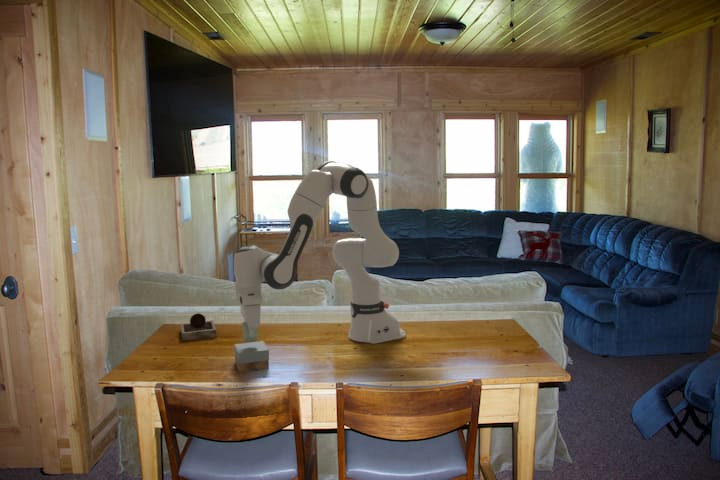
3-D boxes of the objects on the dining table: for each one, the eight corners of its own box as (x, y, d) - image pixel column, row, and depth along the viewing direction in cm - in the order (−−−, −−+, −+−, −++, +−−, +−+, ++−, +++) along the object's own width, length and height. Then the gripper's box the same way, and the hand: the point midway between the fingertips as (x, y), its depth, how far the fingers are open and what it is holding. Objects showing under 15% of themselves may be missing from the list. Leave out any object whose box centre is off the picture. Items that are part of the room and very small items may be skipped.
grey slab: (263, 350, 204) (263, 340, 203) (269, 359, 194) (268, 349, 194) (235, 354, 200) (234, 344, 200) (239, 363, 191) (238, 353, 191)
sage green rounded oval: (256, 336, 200) (255, 320, 199) (259, 341, 195) (258, 324, 194) (242, 338, 198) (241, 321, 197) (244, 343, 193) (243, 325, 193)
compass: (193, 336, 230) (192, 319, 228) (190, 331, 237) (189, 313, 236) (213, 333, 233) (212, 316, 232) (210, 328, 240) (209, 311, 239)
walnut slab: (264, 359, 204) (263, 350, 204) (268, 369, 195) (268, 360, 194) (235, 363, 201) (234, 353, 201) (238, 373, 192) (238, 363, 191)
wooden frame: (213, 327, 241) (213, 320, 240) (216, 336, 229) (216, 329, 228) (181, 331, 237) (180, 324, 236) (182, 340, 224) (181, 333, 224)
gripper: (235, 287, 203) (237, 325, 205) (243, 302, 184) (245, 343, 186) (253, 286, 205) (254, 323, 207) (263, 300, 186) (264, 341, 188)
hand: (250, 333), depth 196 cm, fingers closed on sage green rounded oval, 5 cm apart
